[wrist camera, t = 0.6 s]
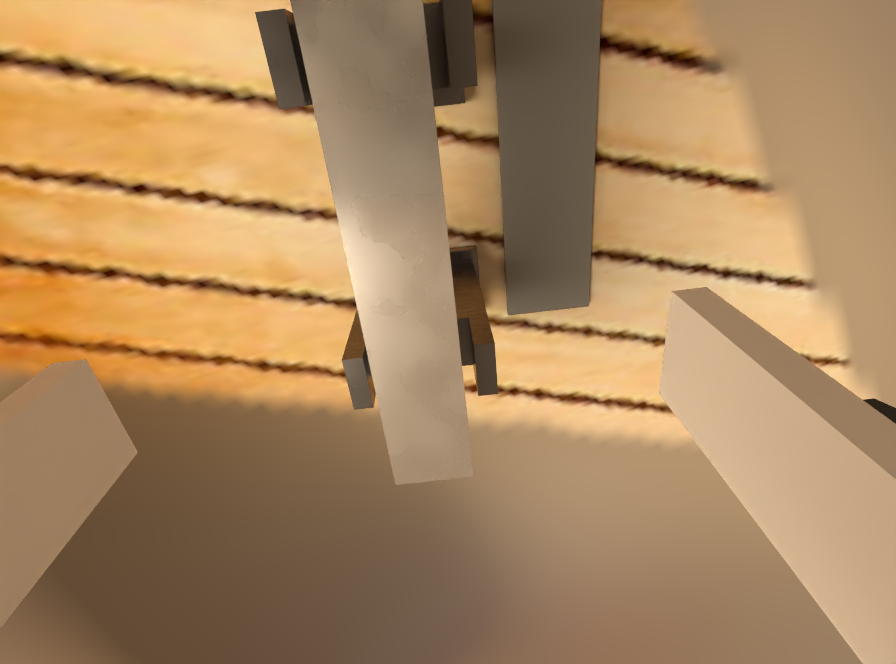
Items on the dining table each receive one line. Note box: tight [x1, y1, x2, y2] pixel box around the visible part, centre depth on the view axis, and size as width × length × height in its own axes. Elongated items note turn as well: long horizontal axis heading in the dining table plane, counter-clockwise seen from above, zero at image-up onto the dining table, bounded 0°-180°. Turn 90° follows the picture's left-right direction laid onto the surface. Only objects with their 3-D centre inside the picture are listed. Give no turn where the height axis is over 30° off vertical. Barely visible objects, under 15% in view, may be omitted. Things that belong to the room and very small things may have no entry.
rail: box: [290, 0, 474, 485], centre depth 20 cm, size 24×4×5 cm, turn 6°
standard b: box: [342, 245, 498, 410], centre depth 29 cm, size 5×8×12 cm, turn 96°
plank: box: [492, 0, 602, 315], centre depth 30 cm, size 20×6×1 cm, turn 6°
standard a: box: [255, 0, 477, 109], centre depth 22 cm, size 5×8×12 cm, turn 96°
